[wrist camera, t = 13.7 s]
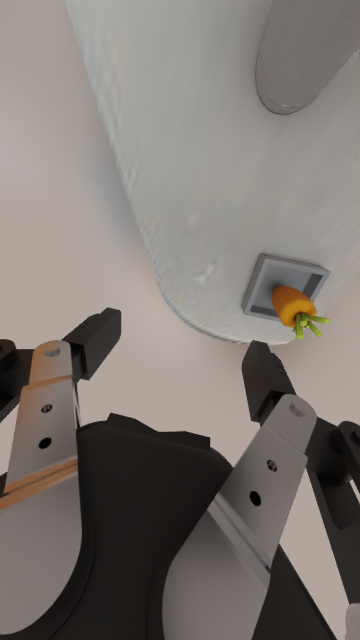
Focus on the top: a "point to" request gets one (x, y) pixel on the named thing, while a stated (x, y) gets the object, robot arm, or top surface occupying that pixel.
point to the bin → (280, 283)
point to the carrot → (295, 310)
